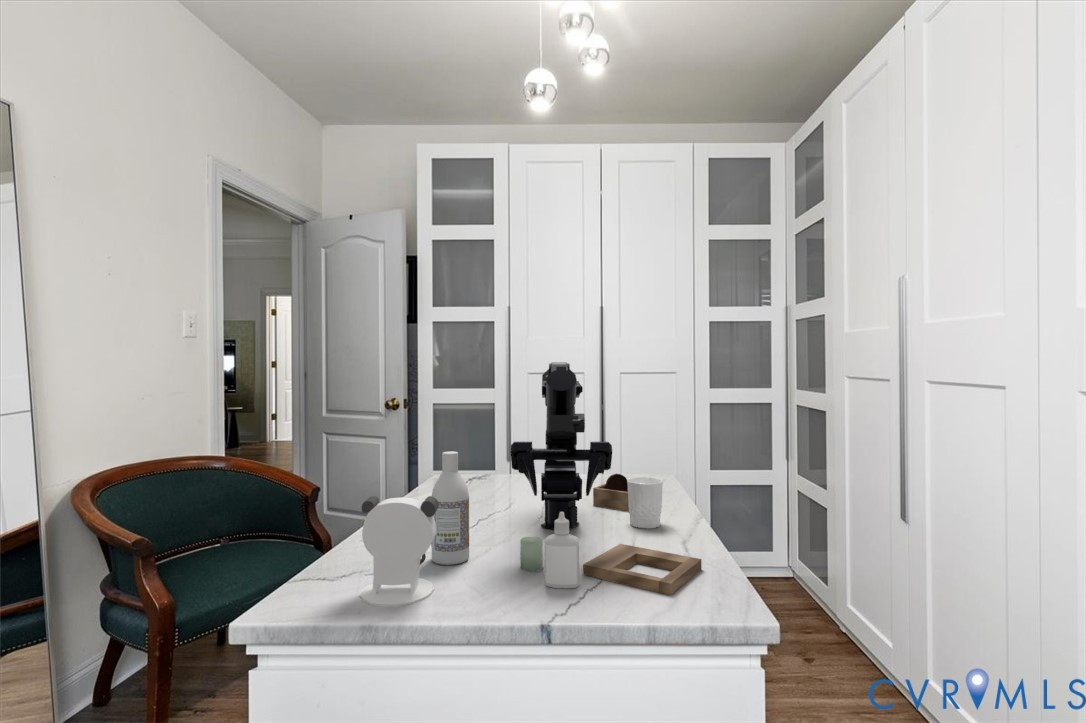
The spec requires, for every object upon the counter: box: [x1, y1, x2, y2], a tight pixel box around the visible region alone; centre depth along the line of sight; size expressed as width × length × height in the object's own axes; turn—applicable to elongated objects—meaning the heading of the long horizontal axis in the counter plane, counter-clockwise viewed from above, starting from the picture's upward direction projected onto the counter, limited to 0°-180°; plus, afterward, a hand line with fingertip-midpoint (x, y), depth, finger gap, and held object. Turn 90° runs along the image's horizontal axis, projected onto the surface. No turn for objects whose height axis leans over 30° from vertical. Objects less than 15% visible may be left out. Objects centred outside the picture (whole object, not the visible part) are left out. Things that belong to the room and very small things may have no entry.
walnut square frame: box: [582, 543, 702, 596], centre depth 104 cm, size 16×14×2 cm
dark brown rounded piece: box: [605, 473, 628, 492], centre depth 153 cm, size 8×8×7 cm
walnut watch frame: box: [592, 483, 629, 512], centre depth 153 cm, size 11×11×4 cm
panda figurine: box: [360, 495, 439, 608], centre depth 95 cm, size 12×11×15 cm
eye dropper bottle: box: [544, 512, 580, 590], centre depth 98 cm, size 4×6×12 cm
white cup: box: [627, 476, 663, 529], centre depth 134 cm, size 8×8×10 cm
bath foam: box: [430, 450, 470, 566], centre depth 111 cm, size 7×7×20 cm
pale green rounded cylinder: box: [519, 536, 544, 573], centre depth 107 cm, size 4×4×5 cm
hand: (561, 494), depth 106 cm, fingers open, 9 cm apart
